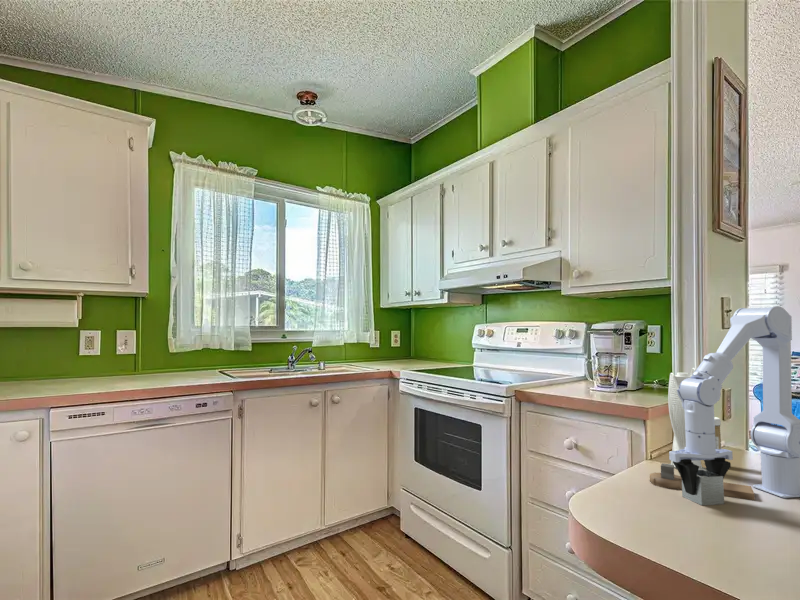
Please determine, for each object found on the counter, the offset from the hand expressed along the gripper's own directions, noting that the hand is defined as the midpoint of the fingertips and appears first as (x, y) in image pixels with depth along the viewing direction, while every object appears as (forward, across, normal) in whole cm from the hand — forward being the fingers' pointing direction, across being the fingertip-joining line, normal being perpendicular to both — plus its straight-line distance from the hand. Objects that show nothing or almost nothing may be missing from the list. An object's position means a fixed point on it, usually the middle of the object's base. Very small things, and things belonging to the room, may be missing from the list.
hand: (702, 492), depth 104 cm
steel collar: (+2, 0, 0) cm, 2 cm away
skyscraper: (+2, -15, -22) cm, 26 cm away
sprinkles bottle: (+2, -25, -24) cm, 34 cm away
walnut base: (+2, -6, -7) cm, 9 cm away
